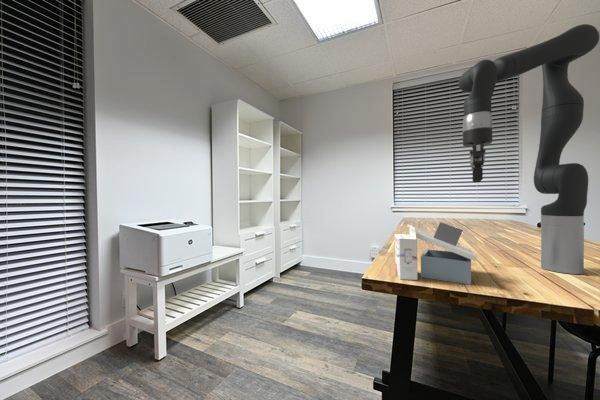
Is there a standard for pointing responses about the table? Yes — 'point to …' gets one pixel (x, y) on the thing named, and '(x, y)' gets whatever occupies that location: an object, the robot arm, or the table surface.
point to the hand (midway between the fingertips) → (477, 181)
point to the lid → (447, 240)
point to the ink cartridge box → (406, 255)
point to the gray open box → (445, 266)
